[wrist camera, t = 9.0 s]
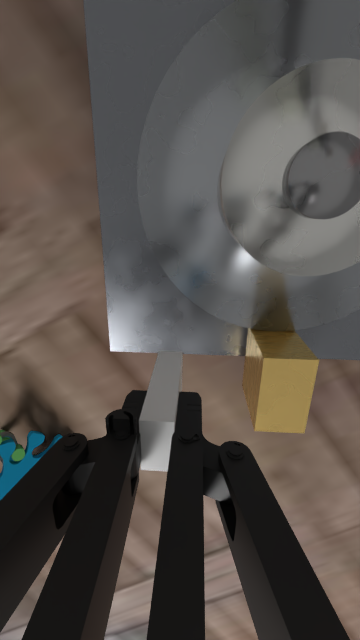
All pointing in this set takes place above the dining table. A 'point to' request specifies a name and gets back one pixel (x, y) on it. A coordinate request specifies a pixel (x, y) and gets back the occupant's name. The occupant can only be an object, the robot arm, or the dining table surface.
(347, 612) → the dining table surface
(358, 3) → the turntable
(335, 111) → the cover
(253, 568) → the robot arm
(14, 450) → the blue virus model
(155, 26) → the turntable base
